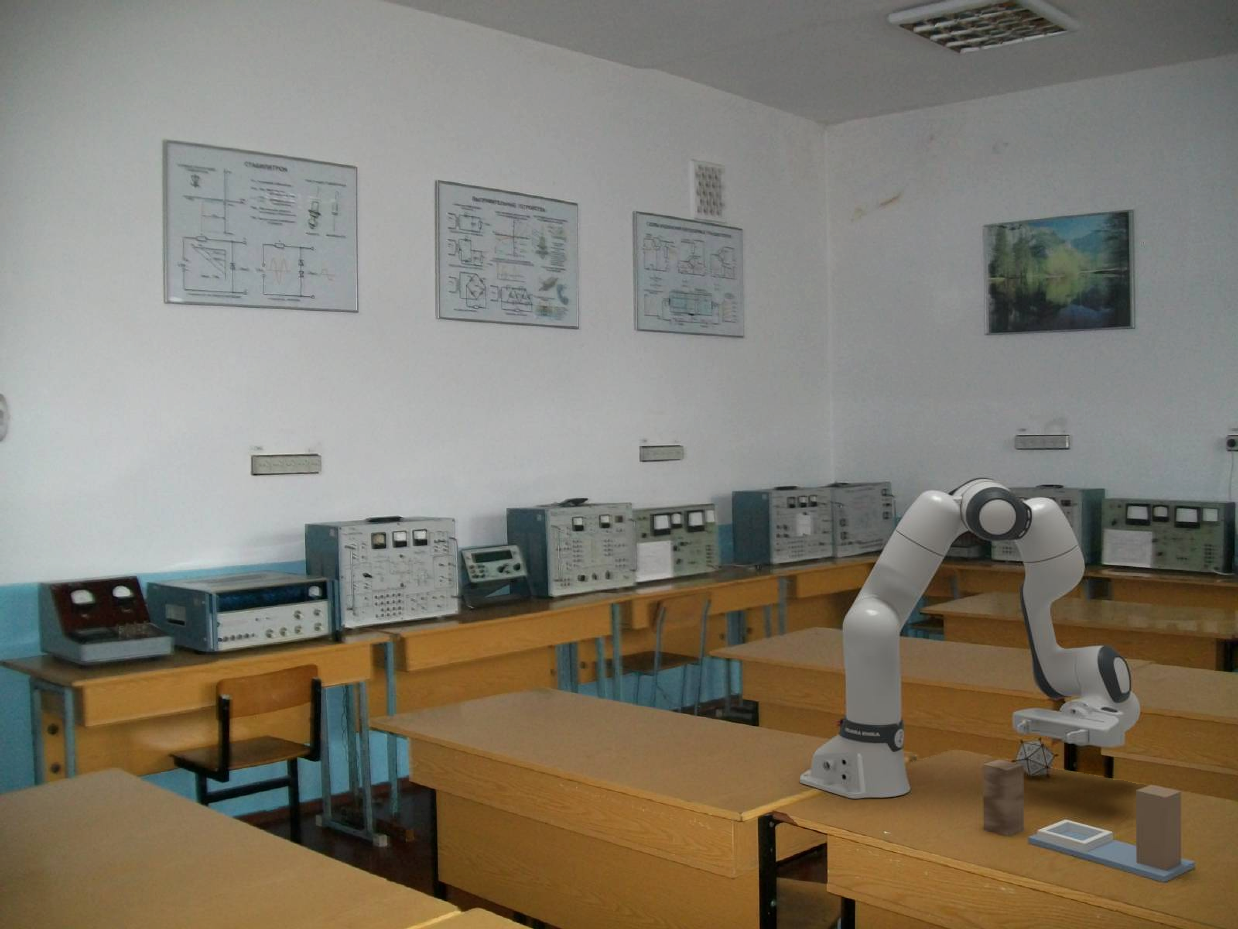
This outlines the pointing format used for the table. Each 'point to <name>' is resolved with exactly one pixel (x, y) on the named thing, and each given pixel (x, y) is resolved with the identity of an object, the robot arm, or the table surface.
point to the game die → (1035, 758)
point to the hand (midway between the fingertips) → (1042, 734)
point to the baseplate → (1148, 858)
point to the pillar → (1003, 797)
